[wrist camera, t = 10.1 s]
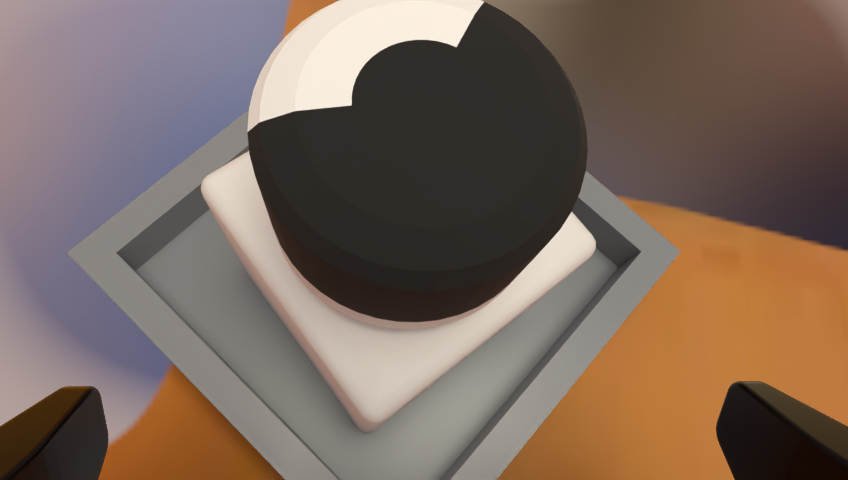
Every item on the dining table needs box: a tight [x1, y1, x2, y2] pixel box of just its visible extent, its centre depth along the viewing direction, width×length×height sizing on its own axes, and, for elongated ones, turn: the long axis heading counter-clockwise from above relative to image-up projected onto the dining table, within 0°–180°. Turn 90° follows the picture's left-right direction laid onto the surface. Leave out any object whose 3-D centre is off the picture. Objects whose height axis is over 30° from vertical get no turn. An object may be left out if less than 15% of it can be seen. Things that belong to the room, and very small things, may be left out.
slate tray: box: [68, 110, 681, 480], centre depth 21 cm, size 14×14×2 cm
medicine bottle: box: [201, 0, 596, 433], centre depth 16 cm, size 7×7×12 cm
